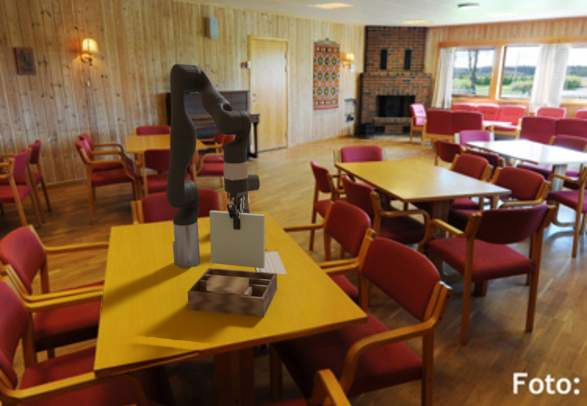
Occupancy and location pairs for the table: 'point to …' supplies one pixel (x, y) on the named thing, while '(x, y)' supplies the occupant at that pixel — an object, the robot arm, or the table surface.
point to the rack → (234, 304)
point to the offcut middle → (247, 293)
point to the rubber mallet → (251, 188)
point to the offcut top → (227, 284)
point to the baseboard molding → (272, 263)
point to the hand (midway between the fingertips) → (238, 228)
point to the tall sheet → (237, 240)
